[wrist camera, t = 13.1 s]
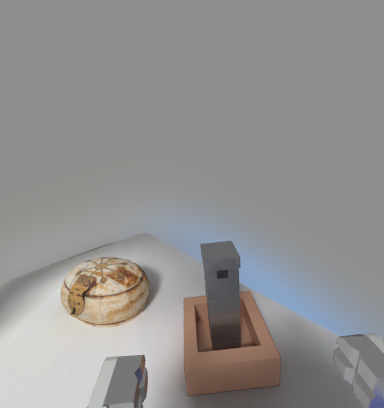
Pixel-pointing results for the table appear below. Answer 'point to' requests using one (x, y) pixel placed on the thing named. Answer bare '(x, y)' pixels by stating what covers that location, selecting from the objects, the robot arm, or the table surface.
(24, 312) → the table surface
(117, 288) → the trinket box
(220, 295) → the grey chimney stack
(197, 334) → the holder
